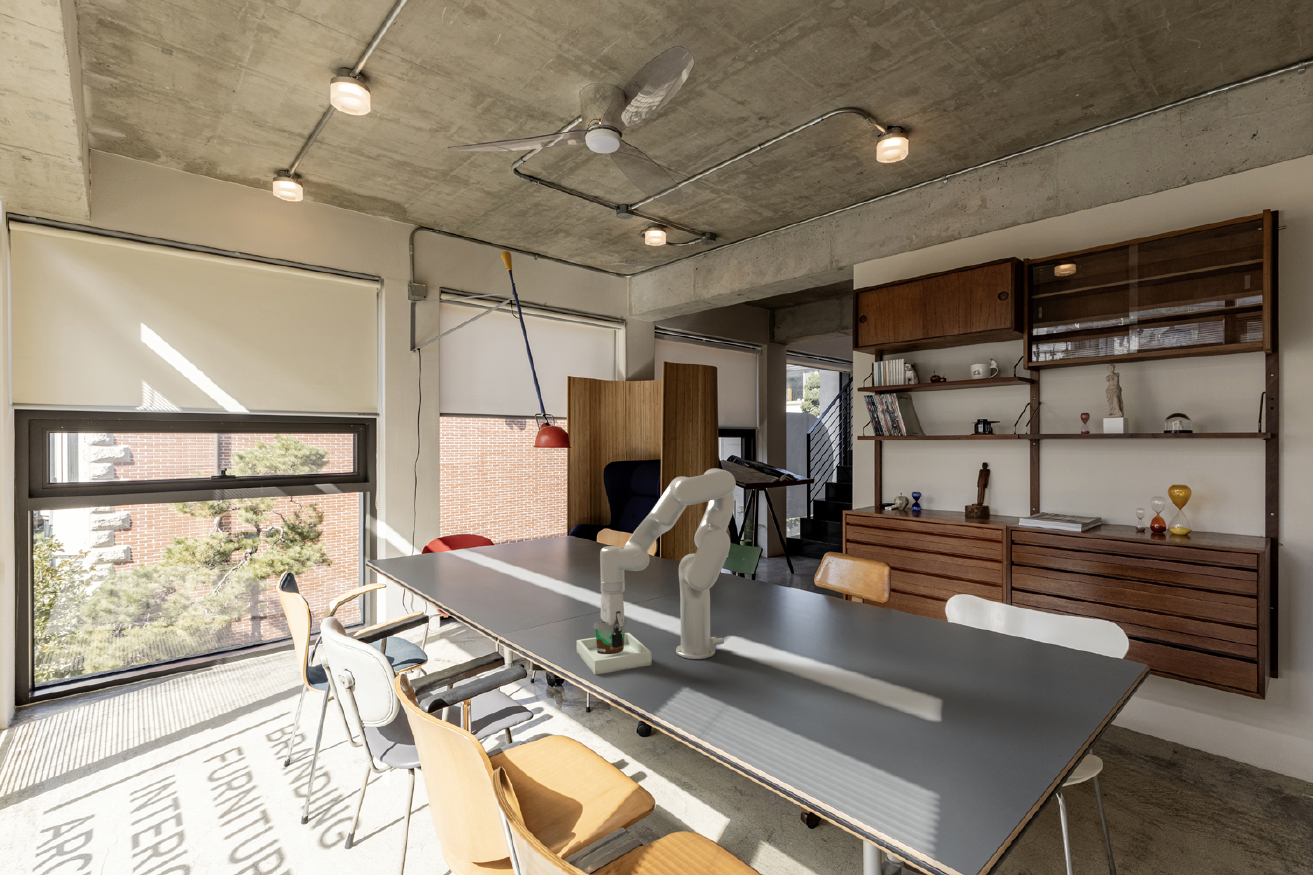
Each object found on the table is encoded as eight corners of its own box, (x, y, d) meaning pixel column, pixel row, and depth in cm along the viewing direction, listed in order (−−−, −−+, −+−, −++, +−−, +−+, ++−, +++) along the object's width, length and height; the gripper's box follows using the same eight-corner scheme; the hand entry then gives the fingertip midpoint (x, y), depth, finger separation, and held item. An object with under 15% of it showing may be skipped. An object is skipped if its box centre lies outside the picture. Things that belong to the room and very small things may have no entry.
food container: (607, 658, 183) (607, 625, 183) (593, 654, 187) (593, 621, 187) (635, 647, 192) (635, 616, 192) (622, 643, 196) (621, 612, 196)
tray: (628, 644, 203) (628, 632, 203) (651, 664, 184) (651, 651, 184) (576, 652, 196) (576, 640, 196) (594, 674, 177) (594, 660, 177)
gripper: (593, 581, 197) (593, 636, 197) (610, 594, 181) (610, 653, 181) (614, 579, 200) (615, 633, 200) (633, 591, 184) (634, 650, 184)
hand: (613, 642), depth 190 cm, fingers closed on food container, 6 cm apart
